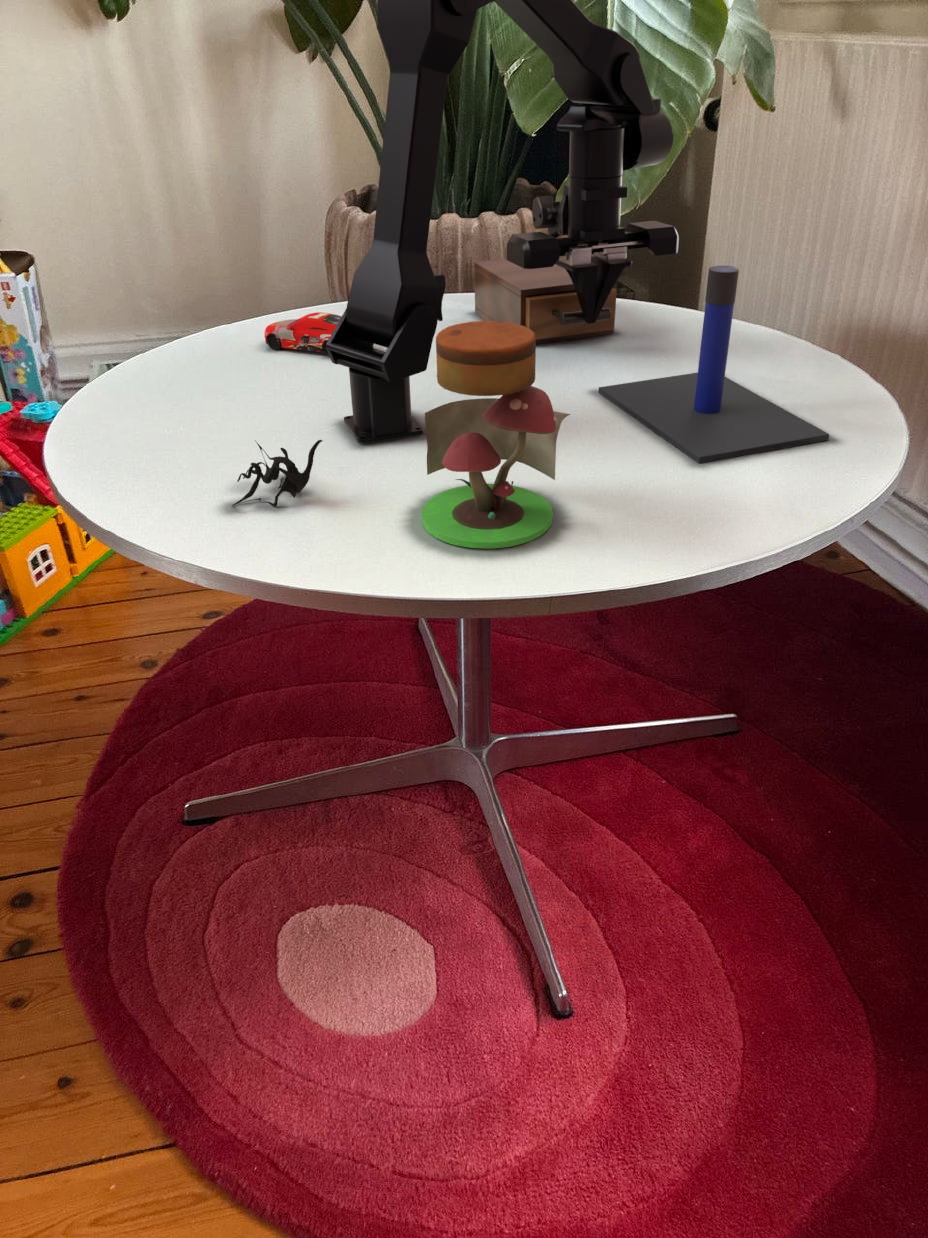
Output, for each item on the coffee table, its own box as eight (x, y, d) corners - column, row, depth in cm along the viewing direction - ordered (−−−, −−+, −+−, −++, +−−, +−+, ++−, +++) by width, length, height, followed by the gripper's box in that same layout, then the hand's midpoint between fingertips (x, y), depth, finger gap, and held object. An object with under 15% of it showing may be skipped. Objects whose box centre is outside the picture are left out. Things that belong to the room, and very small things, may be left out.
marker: (717, 415, 95) (736, 273, 88) (690, 411, 96) (706, 270, 89) (723, 406, 97) (741, 266, 90) (696, 402, 98) (712, 264, 91)
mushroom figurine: (582, 548, 74) (593, 354, 66) (418, 556, 74) (408, 362, 66) (559, 483, 84) (565, 307, 76) (414, 489, 84) (405, 313, 76)
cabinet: (613, 333, 121) (617, 278, 117) (520, 345, 117) (520, 289, 114) (560, 302, 133) (562, 252, 129) (474, 313, 130) (474, 261, 126)
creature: (214, 516, 83) (282, 518, 78) (194, 456, 80) (262, 454, 76) (275, 482, 88) (342, 482, 84) (258, 425, 86) (325, 422, 81)
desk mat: (828, 439, 91) (829, 433, 91) (698, 463, 87) (699, 457, 87) (712, 375, 107) (713, 369, 107) (598, 392, 103) (598, 387, 103)
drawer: (629, 338, 116) (632, 297, 113) (542, 349, 113) (543, 308, 110) (564, 300, 131) (565, 263, 128) (485, 310, 127) (484, 272, 125)
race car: (256, 348, 118) (252, 315, 116) (281, 336, 123) (277, 304, 120) (350, 360, 114) (347, 326, 112) (373, 347, 118) (370, 313, 116)
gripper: (637, 162, 113) (629, 299, 121) (487, 173, 108) (490, 316, 116) (686, 172, 104) (674, 319, 112) (526, 185, 99) (525, 338, 107)
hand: (590, 322), depth 112 cm, fingers closed, pressing on drawer
